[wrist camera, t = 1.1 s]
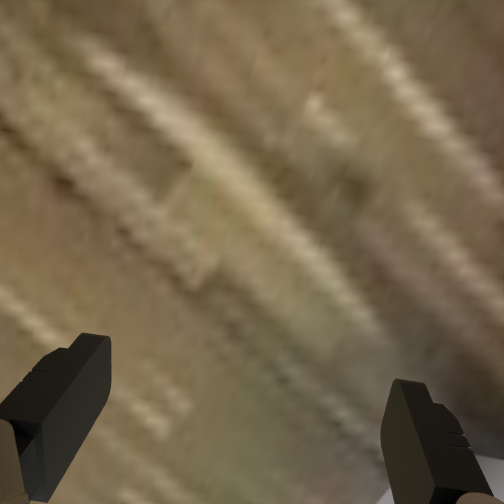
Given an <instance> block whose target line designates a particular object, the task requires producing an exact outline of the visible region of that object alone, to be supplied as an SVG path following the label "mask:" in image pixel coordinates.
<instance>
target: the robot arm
mask: <svg viewBox="0 0 504 504" xmlns="http://www.w3.org/2000/svg"><path fill="white" fill-rule="evenodd" d="M110 389H111V339H110V337H109V336H103V335H96V334H89V333H81V334H80V335H79V336H78V337H77V339H76V340H75V341H74V342H73V343H72V344H71V346H70V347H69V348H68V349H67V348H58V349H56V350H55V351H53V352H51V353H49V354H47V355H46V356H44V357H43V358H42V359H41V360H40V361H39V362H38V363H37V364H36V365H35V366H34V367H33V369H32V371H31V372H29V373H28V374H27V375H26V376H25V377H24V378H23V381H22V382H20V383H19V384H18V385H17V386H16V387H15V388H14V389H13V391H12V392H11V393H10V394H9V395H8V396H7V397H6V398H5V399H4V400H3V402H2V403H1V404H0V504H29V502H30V501H31V500H33V501H39V502H45V503H48V501H49V499H50V498H51V496H52V494H53V493H54V491H55V489H56V488H57V486H58V484H59V482H60V481H61V479H62V477H63V476H64V474H65V472H66V470H67V469H68V467H69V465H70V464H71V462H72V460H73V459H74V457H75V455H76V453H77V452H78V450H79V448H80V447H81V445H82V443H83V441H84V440H85V438H86V436H87V435H88V433H89V431H90V430H91V428H92V426H93V424H94V423H95V421H96V419H97V418H98V416H99V414H100V413H101V411H102V409H103V407H104V406H105V404H106V402H107V399H108V396H109V393H110ZM381 447H382V452H383V456H384V460H385V464H386V469H387V473H388V477H389V481H390V486H391V490H392V494H393V498H394V502H395V504H504V502H502V501H500V500H499V499H497V498H495V497H494V495H493V493H492V491H491V489H490V487H489V485H488V483H487V481H486V479H485V476H484V474H483V472H482V470H481V468H480V466H479V464H478V462H477V460H476V458H475V455H474V453H473V451H471V447H470V445H469V443H468V441H467V439H466V438H465V437H464V432H463V430H462V428H461V426H460V424H459V422H458V420H457V418H456V417H455V416H454V415H453V414H452V413H451V412H450V411H449V410H448V409H447V408H446V407H445V406H444V405H443V404H437V403H433V401H432V399H431V397H430V394H429V392H428V390H427V387H426V385H425V384H424V383H422V382H416V381H409V380H402V379H395V380H394V381H393V384H392V387H391V390H390V394H389V398H388V402H387V405H386V409H385V413H384V417H383V420H382V425H381Z"/></svg>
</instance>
